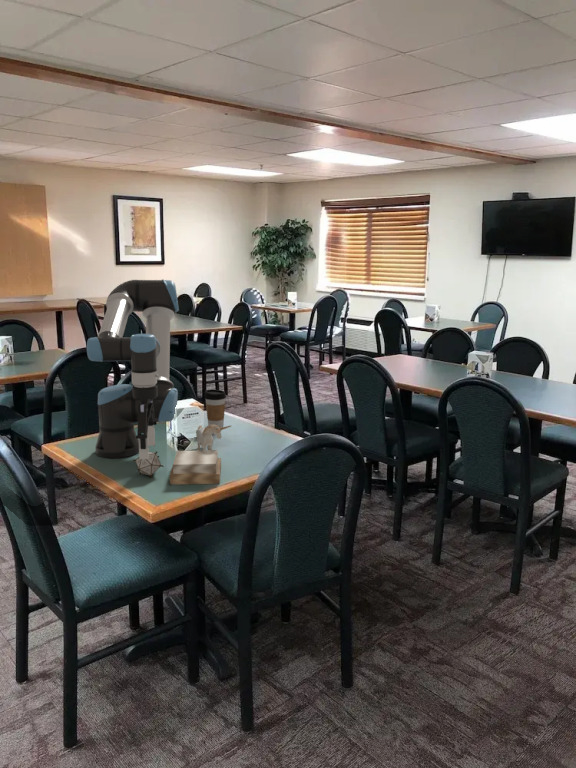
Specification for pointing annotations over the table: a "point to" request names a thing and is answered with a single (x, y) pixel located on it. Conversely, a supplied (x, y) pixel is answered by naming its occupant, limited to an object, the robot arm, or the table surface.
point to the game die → (148, 464)
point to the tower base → (197, 477)
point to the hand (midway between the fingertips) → (147, 451)
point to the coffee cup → (215, 407)
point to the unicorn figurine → (208, 435)
